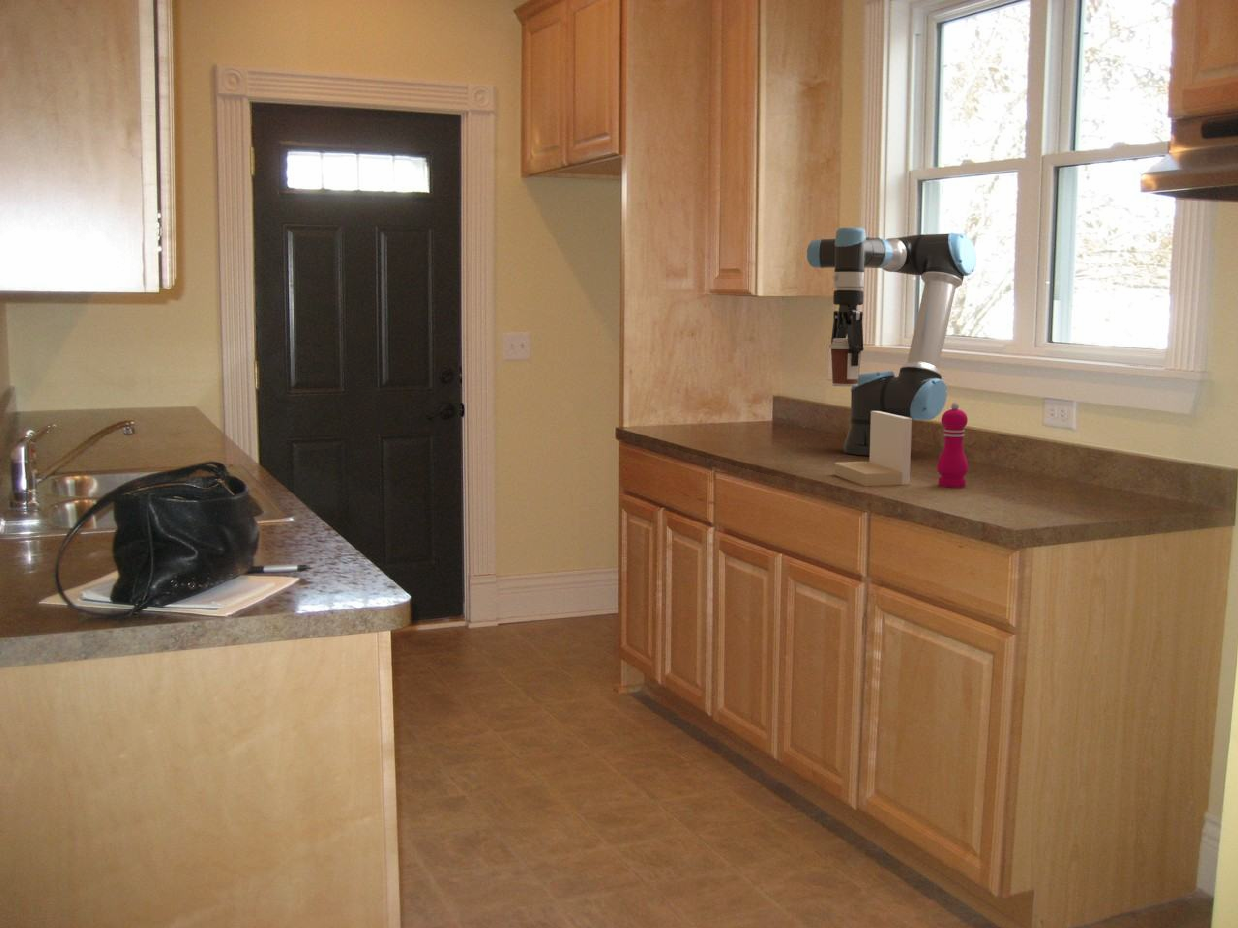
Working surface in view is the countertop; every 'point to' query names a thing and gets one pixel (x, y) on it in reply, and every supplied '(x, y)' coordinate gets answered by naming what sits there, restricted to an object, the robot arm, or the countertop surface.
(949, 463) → the pepper mill
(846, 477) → the board
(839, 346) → the coffee cup
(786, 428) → the countertop surface
